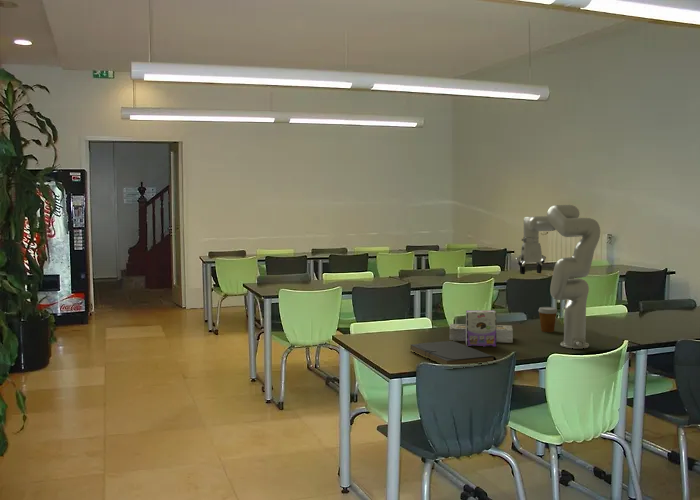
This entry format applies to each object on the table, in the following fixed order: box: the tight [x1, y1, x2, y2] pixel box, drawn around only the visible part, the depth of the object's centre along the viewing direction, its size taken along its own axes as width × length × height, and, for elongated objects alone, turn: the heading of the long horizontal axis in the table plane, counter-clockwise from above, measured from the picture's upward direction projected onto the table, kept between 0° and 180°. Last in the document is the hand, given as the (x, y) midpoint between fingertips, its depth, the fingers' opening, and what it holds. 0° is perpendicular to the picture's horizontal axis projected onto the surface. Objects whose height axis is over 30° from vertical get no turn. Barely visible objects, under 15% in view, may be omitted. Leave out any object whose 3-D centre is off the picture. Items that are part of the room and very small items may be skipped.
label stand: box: [448, 323, 514, 344], centre depth 329 cm, size 30×12×6 cm, turn 79°
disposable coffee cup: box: [537, 306, 558, 333], centre depth 346 cm, size 10×10×12 cm
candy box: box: [465, 309, 497, 348], centre depth 315 cm, size 14×6×16 cm, turn 84°
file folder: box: [410, 340, 497, 364], centre depth 294 cm, size 33×4×24 cm
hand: (530, 273), depth 346 cm, fingers open, 9 cm apart
